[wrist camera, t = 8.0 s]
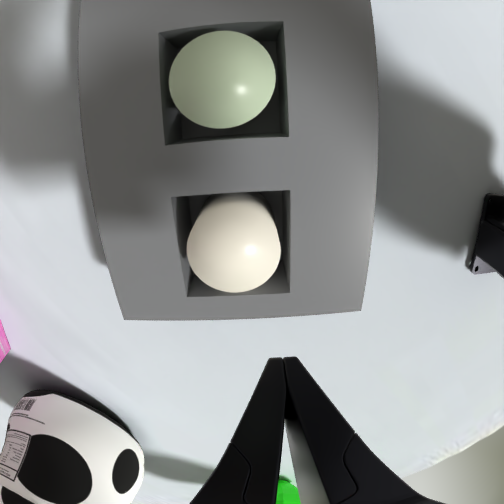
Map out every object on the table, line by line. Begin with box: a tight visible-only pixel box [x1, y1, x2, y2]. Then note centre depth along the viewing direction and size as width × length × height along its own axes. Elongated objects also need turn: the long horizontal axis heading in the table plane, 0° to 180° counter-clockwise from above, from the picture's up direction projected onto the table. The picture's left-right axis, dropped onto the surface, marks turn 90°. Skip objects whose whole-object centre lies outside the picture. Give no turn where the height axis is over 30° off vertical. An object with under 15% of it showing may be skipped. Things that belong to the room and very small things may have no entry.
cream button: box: [187, 191, 281, 293], centre depth 15 cm, size 4×4×4 cm
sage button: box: [169, 31, 276, 128], centre depth 12 cm, size 4×4×4 cm
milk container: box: [0, 390, 144, 504], centre depth 20 cm, size 17×17×18 cm
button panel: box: [78, 0, 379, 320], centre depth 12 cm, size 13×23×4 cm, turn 3°
